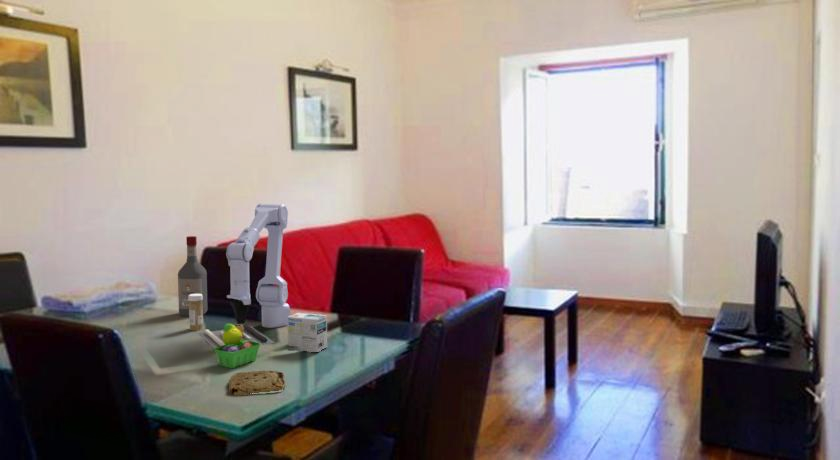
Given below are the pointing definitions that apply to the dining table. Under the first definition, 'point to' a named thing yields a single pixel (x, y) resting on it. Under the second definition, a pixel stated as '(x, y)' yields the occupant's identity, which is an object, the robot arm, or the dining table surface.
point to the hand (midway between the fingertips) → (240, 323)
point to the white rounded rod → (214, 337)
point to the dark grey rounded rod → (255, 333)
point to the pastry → (256, 382)
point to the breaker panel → (246, 336)
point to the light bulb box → (307, 332)
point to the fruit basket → (235, 348)
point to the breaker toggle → (239, 328)
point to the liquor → (191, 279)
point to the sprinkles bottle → (195, 312)
